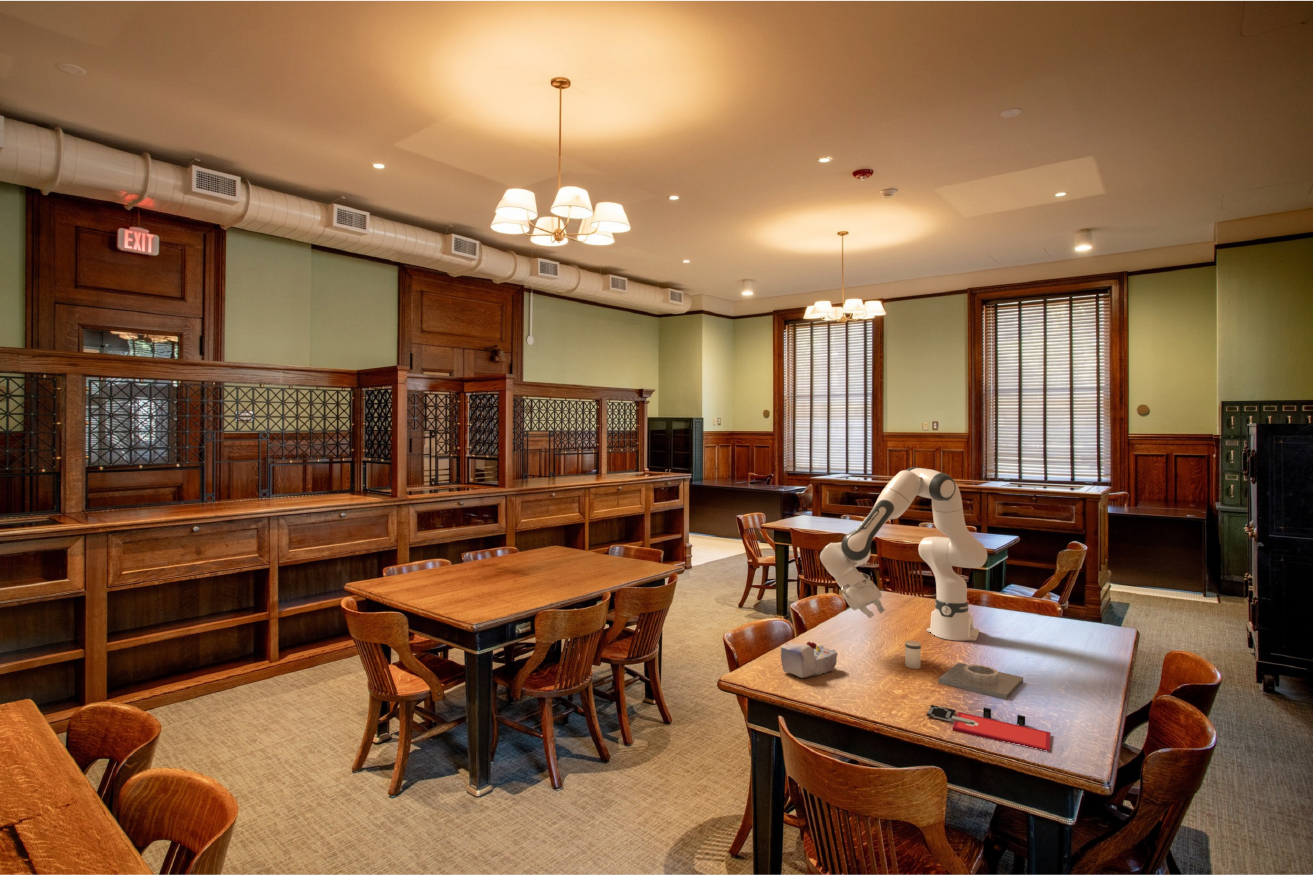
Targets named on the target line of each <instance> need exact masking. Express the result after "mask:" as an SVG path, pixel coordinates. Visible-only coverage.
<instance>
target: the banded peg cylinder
mask: <svg viewBox="0 0 1313 875" xmlns="http://www.w3.org/2000/svg"><path fill="white" fill-rule="evenodd" d="M904 647H905V648H904V652H905V653H904V665H905V667H906V666H907V667H906V668H909V669H915V670H918V669H921V664H922V663H921V662H922V660H921V657H922V653H921V652H922V644H921V642H919V641H917V640H916V641H914V640H906V641H905V643H904Z"/></svg>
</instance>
